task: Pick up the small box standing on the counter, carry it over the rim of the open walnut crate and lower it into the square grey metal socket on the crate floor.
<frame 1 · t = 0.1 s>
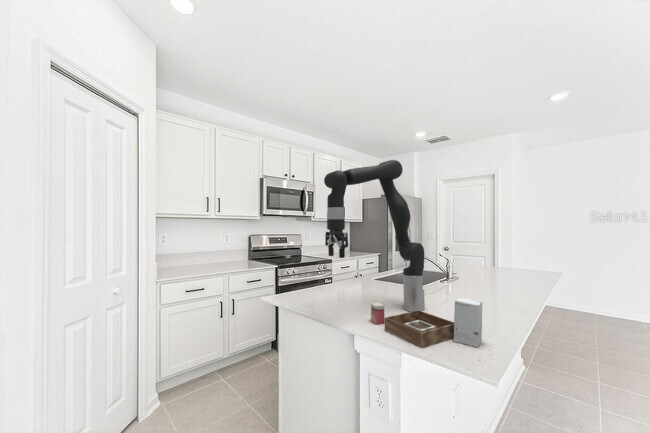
hand: (336, 256, 118), 29 cm above the counter, tool pointing down, fingers open, 8 cm apart
small box: (377, 322, 122), on the counter
crate: (419, 333, 110), on the counter
skincare box: (468, 342, 101), on the counter
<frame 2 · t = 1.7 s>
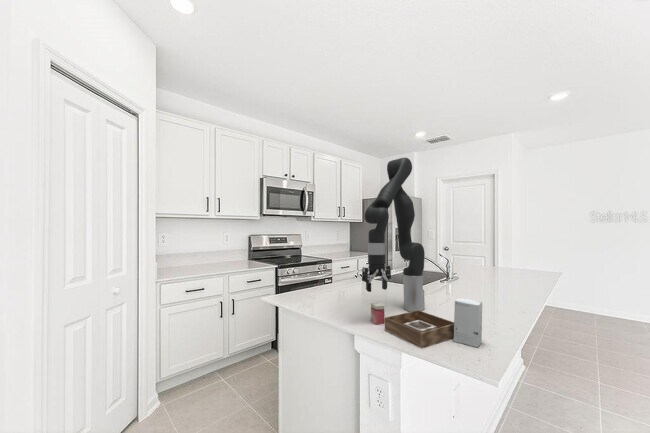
hand: (376, 290, 123), 14 cm above the counter, tool pointing down, fingers open, 8 cm apart
nothing on the counter moved.
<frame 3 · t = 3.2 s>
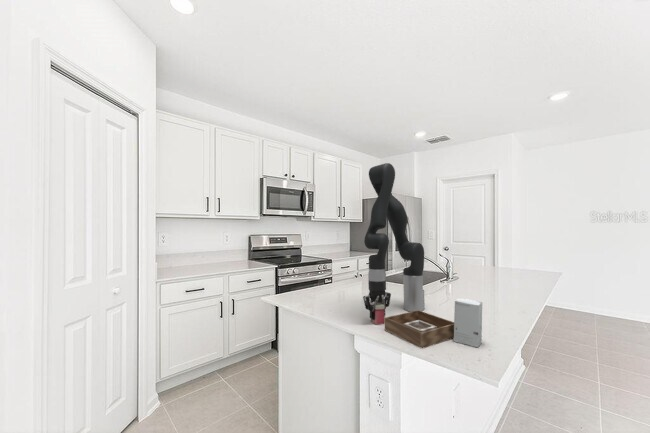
hand: (377, 318, 122), 2 cm above the counter, tool pointing down, fingers closed on small box, 5 cm apart
small box: (377, 322, 122), on the counter, touching gripper
everything else where it was.
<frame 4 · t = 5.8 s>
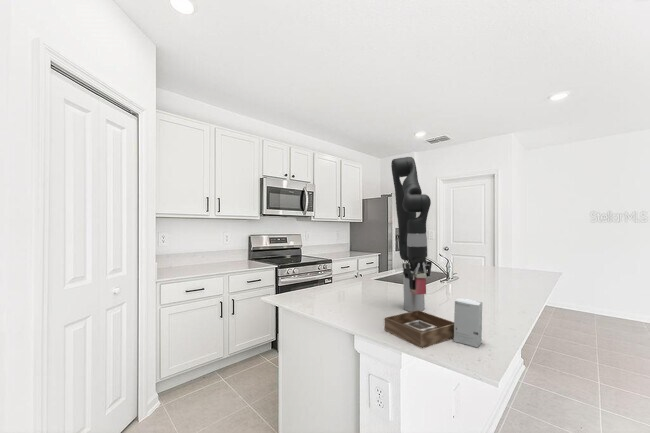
hand: (417, 288, 110), 17 cm above the counter, tool pointing down, fingers closed on small box, 5 cm apart
small box: (417, 293, 110), point 15 cm above the counter, touching gripper
everything else where it was.
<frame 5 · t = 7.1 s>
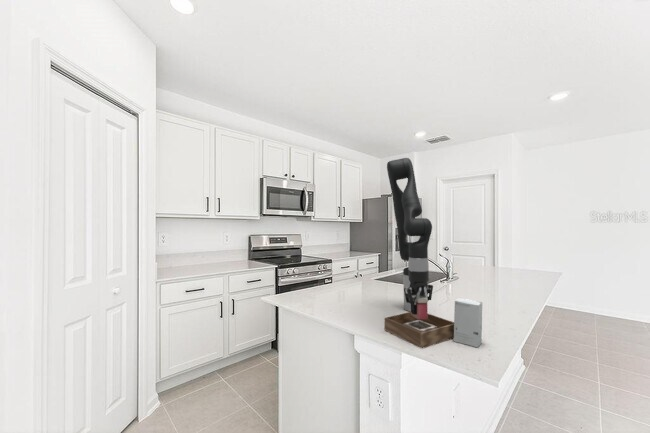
hand: (419, 312, 110), 8 cm above the counter, tool pointing down, fingers closed on small box, 5 cm apart
small box: (419, 317, 110), point 6 cm above the counter, touching gripper
everything else where it was.
when the fingers open (4 cm above the counter, at t = 8.3 s): small box drops 1 cm, resting on crate.
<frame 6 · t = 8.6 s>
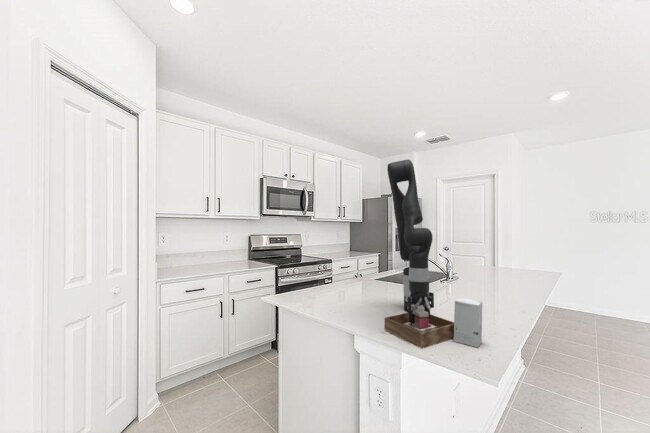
hand: (419, 321, 110), 5 cm above the counter, tool pointing down, fingers open, 7 cm apart
small box: (420, 331, 110), point 1 cm above the counter, touching crate
everything else where it was.
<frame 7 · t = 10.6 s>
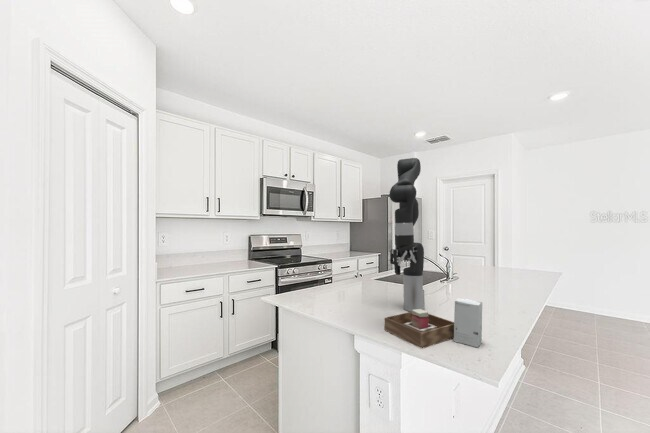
hand: (405, 273, 115), 22 cm above the counter, tool pointing down, fingers open, 8 cm apart
nothing on the counter moved.
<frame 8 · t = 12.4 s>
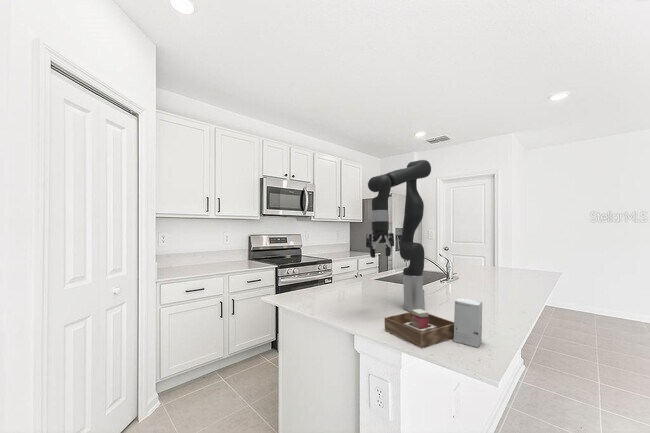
hand: (380, 256, 125), 28 cm above the counter, tool pointing down, fingers open, 8 cm apart
nothing on the counter moved.
at the end: small box 0.2 cm off-centre on the crate, point 0.6 cm above the crate's base; small box tilted 0°; the gripper is holding nothing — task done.
